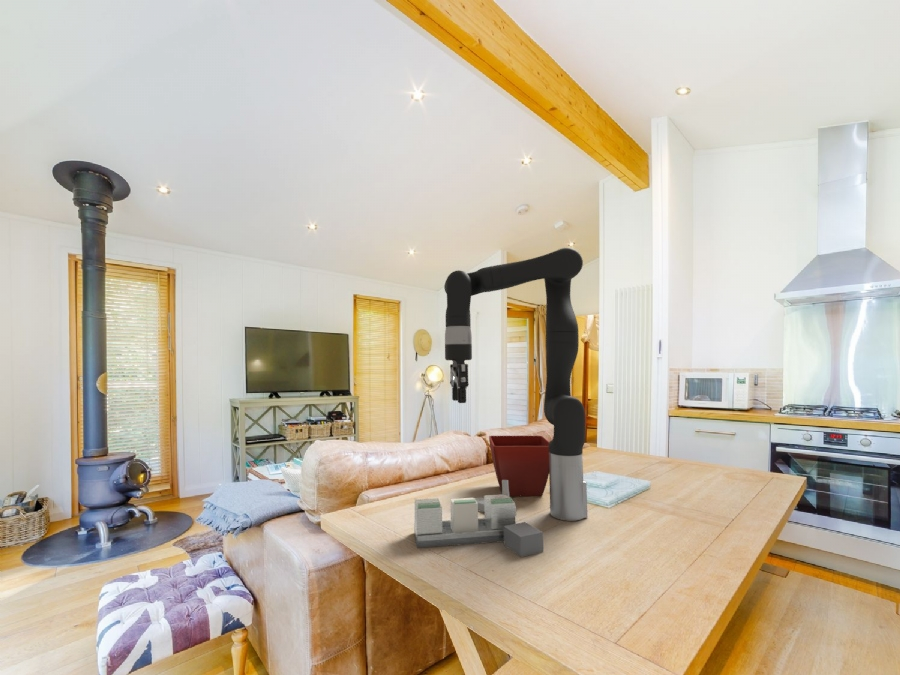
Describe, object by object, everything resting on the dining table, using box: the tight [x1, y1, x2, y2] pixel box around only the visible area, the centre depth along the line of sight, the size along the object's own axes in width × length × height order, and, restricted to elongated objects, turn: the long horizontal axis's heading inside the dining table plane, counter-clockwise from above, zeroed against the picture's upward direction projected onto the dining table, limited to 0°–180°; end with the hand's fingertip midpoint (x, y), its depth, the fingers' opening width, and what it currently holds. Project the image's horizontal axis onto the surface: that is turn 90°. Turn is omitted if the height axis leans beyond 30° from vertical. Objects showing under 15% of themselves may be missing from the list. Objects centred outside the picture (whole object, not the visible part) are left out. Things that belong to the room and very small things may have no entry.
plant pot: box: [488, 435, 550, 498], centre depth 141 cm, size 19×19×17 cm
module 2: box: [503, 521, 544, 558], centre depth 97 cm, size 6×7×4 cm
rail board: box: [413, 493, 516, 549], centre depth 104 cm, size 24×9×9 cm, turn 99°
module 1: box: [450, 497, 479, 533], centre depth 104 cm, size 6×4×7 cm
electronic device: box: [474, 480, 517, 517], centre depth 122 cm, size 5×10×15 cm
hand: (459, 401), depth 117 cm, fingers open, 8 cm apart
